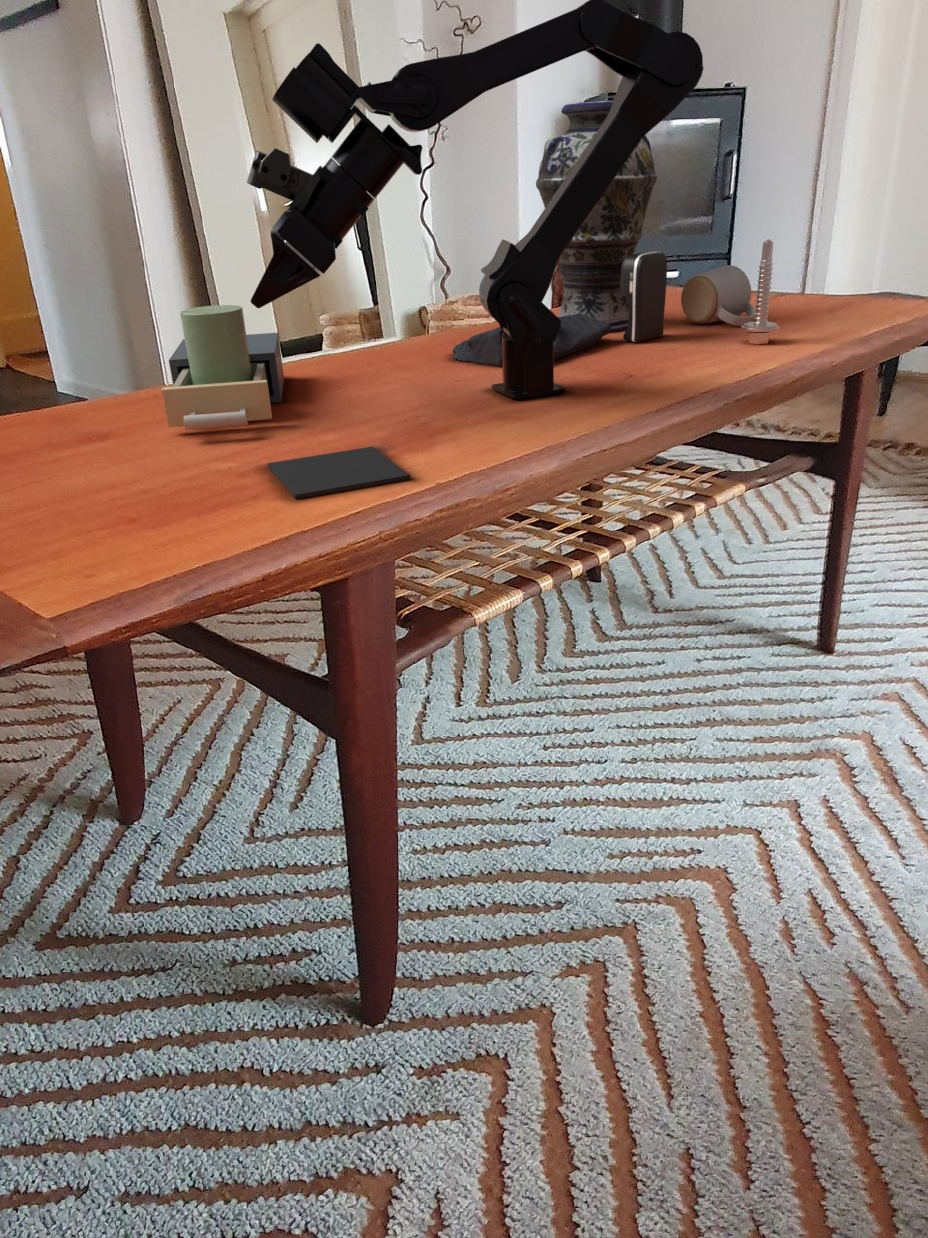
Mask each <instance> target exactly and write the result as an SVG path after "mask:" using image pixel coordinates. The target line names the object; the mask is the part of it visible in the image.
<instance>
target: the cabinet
mask: <svg viewBox="0 0 928 1238" xmlns="http://www.w3.org/2000/svg"><path fill="white" fill-rule="evenodd" d="M246 337H247V344H248V351H249V358H250V362H260V361H265V365H266V373H267V380H268V388H269V397H270V404H275V403H278V404H279V403H282V401H283V399H282V398H283V390H284V382H285V380H284V379H285V375H284V367H283V359H282V351H281V343H280V336H279V332H267V333H265V332H264V333H253V334H252V333H251V334H250V333H249V334H246ZM168 365H169V369H170V375H171V381H172V386H173V385H174V383H175V381H176V380H177V378H178V376H179V375H180V373H181V371H182V370H183V368H184V367H189V361H188V355H187V349H186V343H185V338H183V339H182V340H181V341H180V343H179V344H178V346H177V347H176V349H175V350H174V351H173V353H172V354H171V356H170V358H169V359H168Z"/></svg>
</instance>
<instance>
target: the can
mask: <svg viewBox="0 0 928 1238" xmlns="http://www.w3.org/2000/svg"><path fill="white" fill-rule="evenodd" d="M179 312H180V313H179V314H180V320H181V325H182V331H183V337H184V338H183V339H185V343H186V349H187V355H188V361H189V367H190V373H191V378H192V384H193V385H202V384H216V383H229V382H243V381H253V379H252V372H251V365H250V358H249V351H248V344H247V337H246V335H247V332H246V331H247V330H246V325H245V324H246V323H245V317H244V310H243V307H242V306H240V305H234V304H215V305H204V306H203V305H202V306H197V307H191V308H186V309H183V310H181V311H179Z"/></svg>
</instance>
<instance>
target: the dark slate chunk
mask: <svg viewBox="0 0 928 1238" xmlns="http://www.w3.org/2000/svg"><path fill="white" fill-rule="evenodd" d="M557 317H558V316H557ZM558 318H559V319H560V320H561V326H560V329H559V332H558V335H557V337H556V340H554V360H557V359H561V358H564V357H565V356H567V355H570V354H573V353H575V352H579V351H582V350H584V349H588V348H589V347H594V346H595V345H596V343H598V341H599V340H601V339H602V338H603V337H605V336H607V335H608V334H609V333H611V332H610V331H611V325H610V324H609V323H608V322H605V321H600V320H598V319H594V318H590V316H585V315H583V314H581V313H578V314H575V315H568V316H562V317H558ZM502 333H505V332H504V331H502V330H501V328H500V326H498V327H496V328H492V329H490V330H487V331H483V332H481V333H477V334H475V335H472V336H470V337H469V338H468V339H466V340H463V341H461V342H459V344H456V345H454V347H453V349H452V351H451V352H452V353H453V354H452V359H453V360H456V361H461V362H471V363H475V364H482V365H486V366H495V367H503V359H502Z"/></svg>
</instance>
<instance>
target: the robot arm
mask: <svg viewBox="0 0 928 1238" xmlns="http://www.w3.org/2000/svg"><path fill="white" fill-rule="evenodd" d="M582 52H586V53H588V54H590V55H591V56H593V57H594V58H595V59H597V60H598V61H599V62H600V63H602V64H604V65H605V66H606V67H607V68H608V69H610V70H611V71H613V72H614V73H616V74H617V75H618V76H621V80H620V82H619V83H618V86H617V89H616V92H615V95H614V98H613V100H612V101H613V104H612V107H611V109H610V112H609V114H608V116H607V118H606V119H605V121H604V122H603V124H602V125H601V127H600V128H599V130H598V131H597V133H596V134H595V136H594V137H593V139H592V140H591V141H590V143H589V144H588V146H587V147H586V149H585V150H584V152H583V153H582V155H581V156H580V158H579V159H578V161H577V162H576V164H575V165H574V167H573V168H572V169H571V171H570V172H569V174H568V175H567V177H566V178H565V180H564V181H563V183H562V184H561V186H560V187H559V189H558V190H557V192H556V193H555V195H554V196H553V197H552V199H551V200H550V202H549V203H548V205H547V206H546V208H545V207H544V209H543V211H542V212H541V213H540V215H539V216H538V218H537V219H536V221H535V222H534V223H533V226H532V227H531V228H530V230H529V231H528V232H527V233H526V234H525V235H524V236H523V237H522V238H521V239H520V240H519V241H518V242H516V244H514V243H513V242H510V241H509V240H506V239H501V241H500V243H499V244H498V246H497V248H496V251H495V253H494V255H493V257H492V259H491V260H490V261H489V262H488V263H487V264H486V265H485V266H483V267H482V268H480V272H481V273H482V274H483V277H482V279H481V281H480V283H479V286H478V287H479V288H478V291H479V292H478V293H479V301H480V303H481V305H482V307H483V309H484V310H485V311H486V312H487V313H488V314H489V315H490V316H491V317H492V318H493V319H494V321H495V322H497V323H498V325H499V327H500V328H501V330H502V331H504V332H505V333H502V359H503V366H502V382H501V383H494V384H491V390H492V391H495V392H498V393H499V394H501V395H504V396H506V397H508V398H511V399H513V400H522V399H528V398H535V397H543V396H549V395H554V394H561V393H562V394H563V393H565V392H566V391H567V387H566V386H564V385H560V384H558V383H555V382H554V381H555V380H554V377H555V376H554V375H555V370H554V369H555V368H554V367H555V361H554V340H556V337H557V335H558V332H559V329H560V326H561V320H560V319H559V318H558V315H556V314H555V313H554V312H552V311H551V309H550V308H549V307H547V306H546V304H544V303H543V301H544V299H545V298H546V295H547V292H548V290H549V288H550V286H551V283H552V280H553V277H554V275H555V272H556V269H557V266H558V263H559V261H560V260H559V258H560V256H561V254H562V253H563V251H564V250H565V248H566V247H567V246H568V244H569V243H570V241H571V240H572V238H573V237H574V236H575V234H576V233H577V231H578V230H579V228H580V227H581V225H582V224H583V223H584V221H585V220H586V218H587V217H588V215H589V214H590V213H591V211H592V210H593V208H594V207H595V205H596V204H597V202H598V201H599V200H600V198H601V197H602V195H603V194H604V192H605V191H606V190H607V188H608V187H609V185H610V184H611V182H612V181H613V180H614V178H615V177H616V175H617V174H618V172H619V171H620V169H621V168H622V167H623V165H624V164H625V162H626V161H627V159H628V158H629V157H630V155H631V154H632V152H633V151H634V149H635V148H636V146H637V145H638V144H639V142H640V141H641V139H642V138H643V137H644V136H646V135H647V134H648V133H650V132H651V130H653V129H654V128H655V127H656V126H657V125H659V124H660V123H661V122H662V121H663V120H665V119H666V118H667V117H668V116H669V115H670V114H671V113H672V112H673V111H674V110H675V109H676V108H677V107H678V106H679V105H680V104H681V103H682V102H683V101H684V100H685V99H686V98H687V97H688V96H689V95H690V94H691V93H692V91H694V90H695V89H696V87H697V86H698V84H699V82H700V80H701V78H702V75H703V72H704V62H703V61H704V59H703V58H704V57H703V53H702V50H701V47H700V45H699V43H698V42H697V41H696V39H695V38H694V37H693V36H691V35H690V34H689V33H687V32H684V31H683V32H682V31H678V30H677V31H672V32H671V31H670V32H666V31H664V29H661V28H660V27H658V26H657V25H654V24H653V23H650V22H648V21H645V20H643V19H641V18H638V17H636V16H634V15H631V14H629V13H627V12H625V11H623V10H621V9H619V8H617V7H616V6H614V5H612V4H611V3H610V2H608V0H587V1H586V2H584V3H582V4H581V5H579V6H578V7H577V8H574V9H573V10H570V11H567V12H565V13H563V14H561V15H558V16H556V17H553V18H550V19H549V20H548V19H547V20H546V21H543V22H542V23H539V24H537V25H534V26H532V27H529V28H527V29H525V30H523V31H520V32H518V33H515V34H513V35H510V36H508V37H506V38H504V39H501V40H499V41H496V42H494V43H492V44H489V45H487V46H485V47H481V48H480V49H477V50H475V51H471V52H467V53H466V52H465V53H462V54H453V55H448V56H442V57H436V58H432V59H426V60H421V61H415V62H412V63H408V64H406V65H404V66H403V67H401V68H400V69H398V71H397V72H395V74H394V75H393V77H392V78H391V80H387V81H382V82H376V83H371V82H370V81H369V82H367V84H366V85H363V86H359V85H358V84H357V83H356V82H355V81H354V80H353V79H352V78H351V77H350V76H349V75H348V74H347V73H346V72H345V71H344V70H343V69H342V68H341V67H340V66H339V65H338V63H336V62H335V61H334V60H333V57H332V56H331V54H330V53H329V52H328V51H327V50H326V48H325V47H323V45H322V44H321V43H315V45H314V46H313V47H312V49H310V51H309V52H308V53H307V54H306V55H305V56H304V58H303V59H302V60H301V61H300V62H299V63H298V65H296V67H295V66H294V67H292V68H291V70H290V71H289V72H288V74H287V75H286V76H285V78H284V80H283V81H282V82H281V83H280V85H279V87H278V88H277V90H276V91H275V93H274V95H273V97H272V99H271V100H272V101H273V102H274V103H275V105H276V106H278V107H279V108H280V109H281V110H282V111H283V112H284V113H285V114H286V115H287V116H288V118H290V119H291V120H292V121H293V122H294V123H295V124H296V125H297V126H298V127H299V128H300V129H301V130H302V131H303V132H305V133H306V134H307V136H309V137H310V138H311V139H312V140H313V141H314V142H315V143H316V144H318V143H319V142H320V141H321V140H322V139H323V138H325V139H326V140H328V141H329V142H330V143H331V144H333V143H334V142H335V140H336V139H337V138H338V137H339V136H340V135H341V133H342V132H343V131H344V129H345V128H346V127H347V126H348V124H349V123H350V121H352V119H353V117H354V116H356V117H357V119H359V120H358V121H357V123H356V124H355V126H354V127H353V128H352V129H351V130H350V132H349V133H348V135H347V136H346V137H345V138H344V140H343V141H342V142H341V143H340V145H339V146H338V148H336V150H335V152H334V153H333V154H331V157H330V158H328V160H327V161H326V162H325V164H324V165H323V166H322V165H318V167H317V169H316V170H315V171H314V173H313V174H312V173H310V172H308V171H305V170H304V169H301V168H299V167H297V166H295V165H292V162H291V155H290V153H287V152H285V151H283V150H280V149H278V148H276V147H273V149H271V150H270V151H269V152H268V153H265V152H263V151H260V150H255V154H254V157H253V161H252V163H251V166H250V171H249V174H248V177H247V180H246V183H247V184H248V185H250V186H252V187H254V188H255V189H259V190H261V189H265V190H267V191H269V192H271V193H273V194H276V195H278V196H279V197H283V198H285V199H287V200H290V201H291V202H290V203H289V205H288V206H289V207H288V208H287V209H286V210H284V211H283V213H282V214H281V216H279V218H278V219H277V220H276V222H275V223H274V224H273V226H272V227H271V228H272V229H271V230H270V234H269V235H270V240H271V245H272V247H271V248H272V257H271V259H270V261H269V262H268V265H267V267H266V269H265V271H264V273H263V275H262V277H261V279H260V280H259V281H258V282H259V283H258V285H257V287H256V288H255V290H254V292H253V295H252V297H251V298H250V303H251V304H252V305H253V306H254V307H255V308H256V309H261V308H263V307H264V306H266V305H269V304H270V303H273V302H274V301H276V300H277V299H279V298H281V297H284V296H285V295H286V294H289V293H290V292H292V291H294V290H297V289H298V288H300V287H303V286H304V285H306V284H308V283H310V282H312V281H314V280H315V279H318V278H320V277H321V276H322V274H323V275H324V274H325V273H326V272H327V271H328V270H329V269H330V267H331V266H332V265H333V263H334V262H335V261H336V259H337V253H336V250H337V249H338V247H339V246H341V244H342V243H343V242H344V241H343V240H344V238H345V237H346V236H347V234H348V233H349V232H350V231H351V230H352V228H353V227H354V226H355V224H356V223H358V221H359V220H360V218H361V217H363V216H364V215H365V214H366V213H367V211H369V207H370V206H371V205H372V203H374V201H375V199H376V198H377V197H378V196H379V195H380V193H381V192H382V191H383V190H384V188H385V187H386V186H387V185H388V184H389V182H390V181H391V180H392V179H393V177H394V176H395V175H396V173H397V172H398V171H399V170H400V169H401V167H402V166H403V165H404V166H406V167H407V168H408V169H409V171H410V172H411V173H412V174H414V175H416V176H417V175H421V174H422V173H423V167H422V152H423V146H422V144H415V145H410V144H409V143H408V142H407V140H405V138H404V137H402V135H401V134H399V132H397V130H396V129H395V128H394V127H392V125H391V124H390V123H389V124H387V125H386V126H385V127H384V128H383V130H381V129H380V128H379V127H377V126H376V124H375V123H373V122H372V121H371V120H370V118H368V117H367V116H366V115H365V114H364V113H363V111H361V110H360V108H359V107H358V106H356V105H355V104H357V102H359V104H361V105H362V107H364V108H365V109H366V111H368V112H369V113H370V114H375V115H380V116H384V117H390V118H391V120H392V121H393V122H394V124H396V126H398V127H399V128H401V129H402V130H404V131H406V132H410V133H419V132H423V131H427V130H430V129H431V128H433V127H435V126H436V125H438V124H439V123H441V122H442V121H444V120H445V119H447V118H449V117H450V116H451V115H453V114H455V113H456V112H458V111H459V110H460V109H462V108H463V107H465V106H466V105H468V104H469V103H471V102H472V101H473V100H475V99H477V98H478V97H479V96H481V95H482V94H484V93H486V92H488V91H490V90H493V89H495V88H498V87H500V86H502V85H505V84H507V83H510V82H512V81H514V80H518V79H519V78H522V77H525V76H527V75H529V74H532V73H534V72H536V71H538V70H541V69H543V68H546V67H548V66H550V65H553V64H555V63H558V62H560V61H562V60H565V59H567V58H569V57H572V56H574V55H577V54H580V53H582Z"/></svg>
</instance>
